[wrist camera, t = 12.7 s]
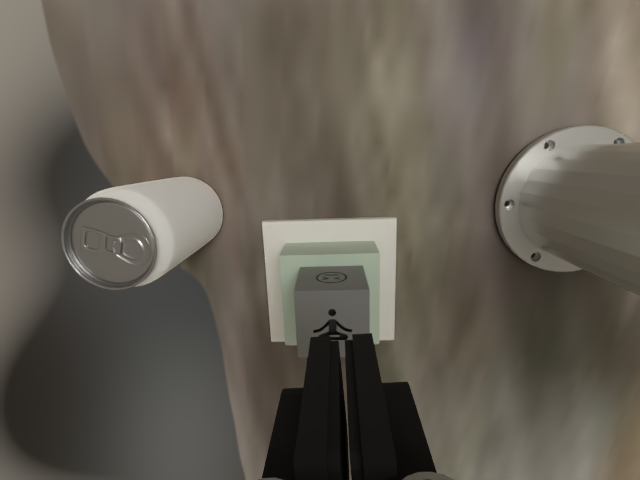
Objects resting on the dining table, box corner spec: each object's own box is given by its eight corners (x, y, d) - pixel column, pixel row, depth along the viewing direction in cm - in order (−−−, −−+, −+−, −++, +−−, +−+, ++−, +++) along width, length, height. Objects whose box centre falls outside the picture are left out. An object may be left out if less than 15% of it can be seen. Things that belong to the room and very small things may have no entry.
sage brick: (373, 240, 31) (379, 253, 27) (373, 321, 33) (379, 344, 29) (285, 242, 31) (279, 255, 27) (290, 322, 33) (285, 345, 29)
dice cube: (303, 323, 29) (297, 358, 24) (300, 266, 28) (293, 291, 23) (363, 322, 29) (369, 357, 24) (362, 265, 27) (369, 289, 23)
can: (219, 252, 33) (157, 307, 21) (151, 237, 32) (51, 284, 21) (229, 184, 31) (169, 204, 19) (158, 168, 31) (54, 178, 19)
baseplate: (395, 216, 31) (396, 218, 30) (392, 335, 34) (394, 340, 33) (263, 220, 32) (261, 221, 31) (272, 337, 35) (271, 341, 34)
